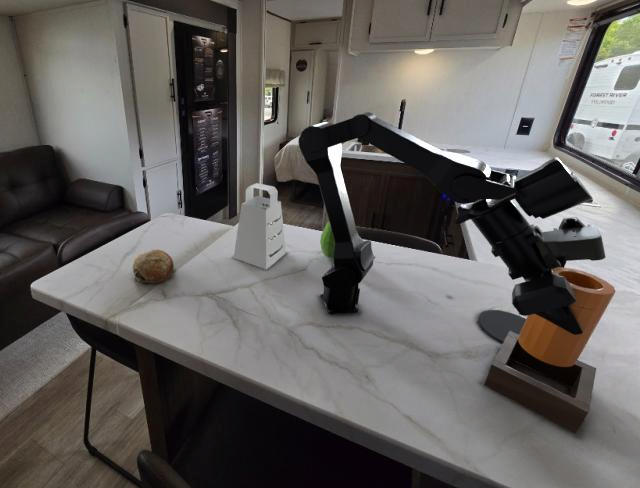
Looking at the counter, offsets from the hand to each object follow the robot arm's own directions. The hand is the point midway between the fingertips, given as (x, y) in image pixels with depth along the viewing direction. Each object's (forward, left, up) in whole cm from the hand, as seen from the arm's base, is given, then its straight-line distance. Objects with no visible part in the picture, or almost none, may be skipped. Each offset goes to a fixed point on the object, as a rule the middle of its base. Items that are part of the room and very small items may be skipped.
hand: (575, 319), depth 50 cm
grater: (-40, +46, -13) cm, 63 cm away
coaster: (+5, +12, -13) cm, 19 cm away
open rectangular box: (-2, 0, -13) cm, 13 cm away
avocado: (-20, +43, -7) cm, 48 cm away
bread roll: (-68, +40, -13) cm, 80 cm away
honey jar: (-1, +1, -7) cm, 7 cm away
